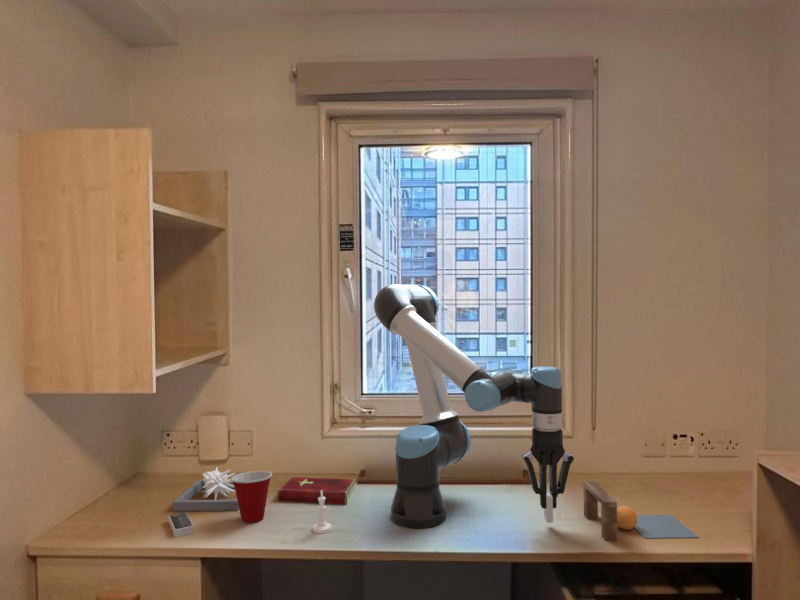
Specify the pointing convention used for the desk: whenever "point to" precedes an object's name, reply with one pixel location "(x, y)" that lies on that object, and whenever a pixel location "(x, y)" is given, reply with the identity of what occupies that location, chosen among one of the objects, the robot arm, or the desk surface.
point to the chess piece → (322, 517)
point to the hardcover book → (316, 489)
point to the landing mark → (662, 527)
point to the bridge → (608, 508)
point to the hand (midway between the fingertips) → (548, 520)
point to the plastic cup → (252, 494)
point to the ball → (626, 517)
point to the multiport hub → (180, 524)
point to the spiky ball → (217, 482)
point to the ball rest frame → (202, 501)
